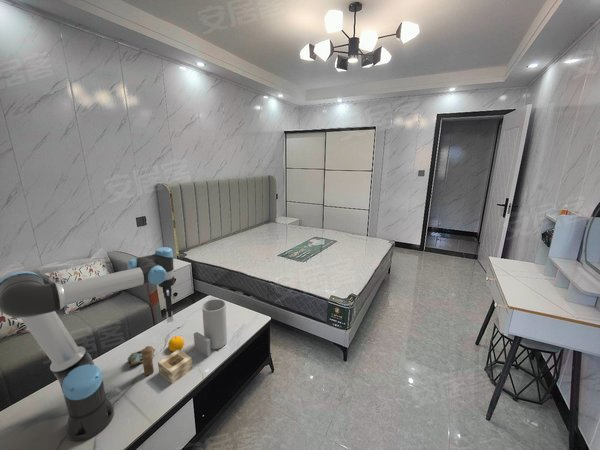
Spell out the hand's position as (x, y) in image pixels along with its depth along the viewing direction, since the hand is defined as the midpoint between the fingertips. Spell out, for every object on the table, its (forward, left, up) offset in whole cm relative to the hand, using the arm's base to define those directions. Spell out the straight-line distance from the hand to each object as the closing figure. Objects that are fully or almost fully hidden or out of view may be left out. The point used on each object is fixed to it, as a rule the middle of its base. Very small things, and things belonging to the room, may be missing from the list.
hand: (169, 314), depth 137 cm
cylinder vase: (+19, -12, -25) cm, 34 cm away
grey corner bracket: (-4, -13, -25) cm, 28 cm away
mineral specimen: (-12, +9, -25) cm, 29 cm away
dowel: (-15, -3, -25) cm, 29 cm away
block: (-7, -13, -24) cm, 28 cm away
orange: (+3, +2, -25) cm, 25 cm away
